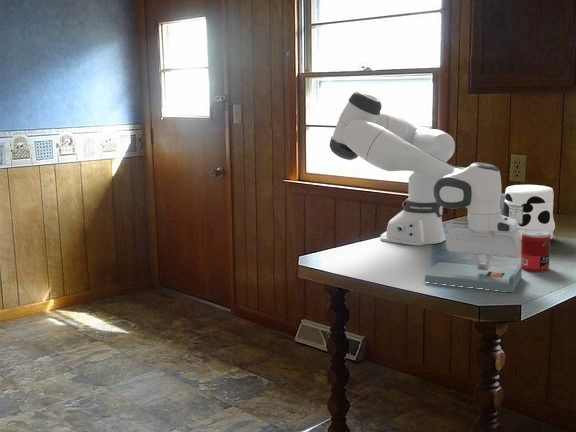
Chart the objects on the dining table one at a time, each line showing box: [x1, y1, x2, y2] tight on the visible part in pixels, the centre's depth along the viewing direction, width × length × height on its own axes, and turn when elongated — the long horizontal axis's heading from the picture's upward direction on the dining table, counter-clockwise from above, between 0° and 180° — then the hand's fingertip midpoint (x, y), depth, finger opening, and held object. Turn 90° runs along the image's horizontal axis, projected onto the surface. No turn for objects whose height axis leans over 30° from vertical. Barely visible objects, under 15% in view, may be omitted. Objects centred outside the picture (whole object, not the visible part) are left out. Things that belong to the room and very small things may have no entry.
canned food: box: [520, 230, 551, 273], centre depth 203 cm, size 8×8×11 cm
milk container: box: [503, 184, 556, 244], centre depth 233 cm, size 17×17×18 cm
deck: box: [424, 261, 523, 293], centre depth 195 cm, size 24×14×4 cm, turn 63°
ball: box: [490, 271, 503, 278], centre depth 192 cm, size 4×4×4 cm
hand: (482, 269), depth 193 cm, fingers closed
